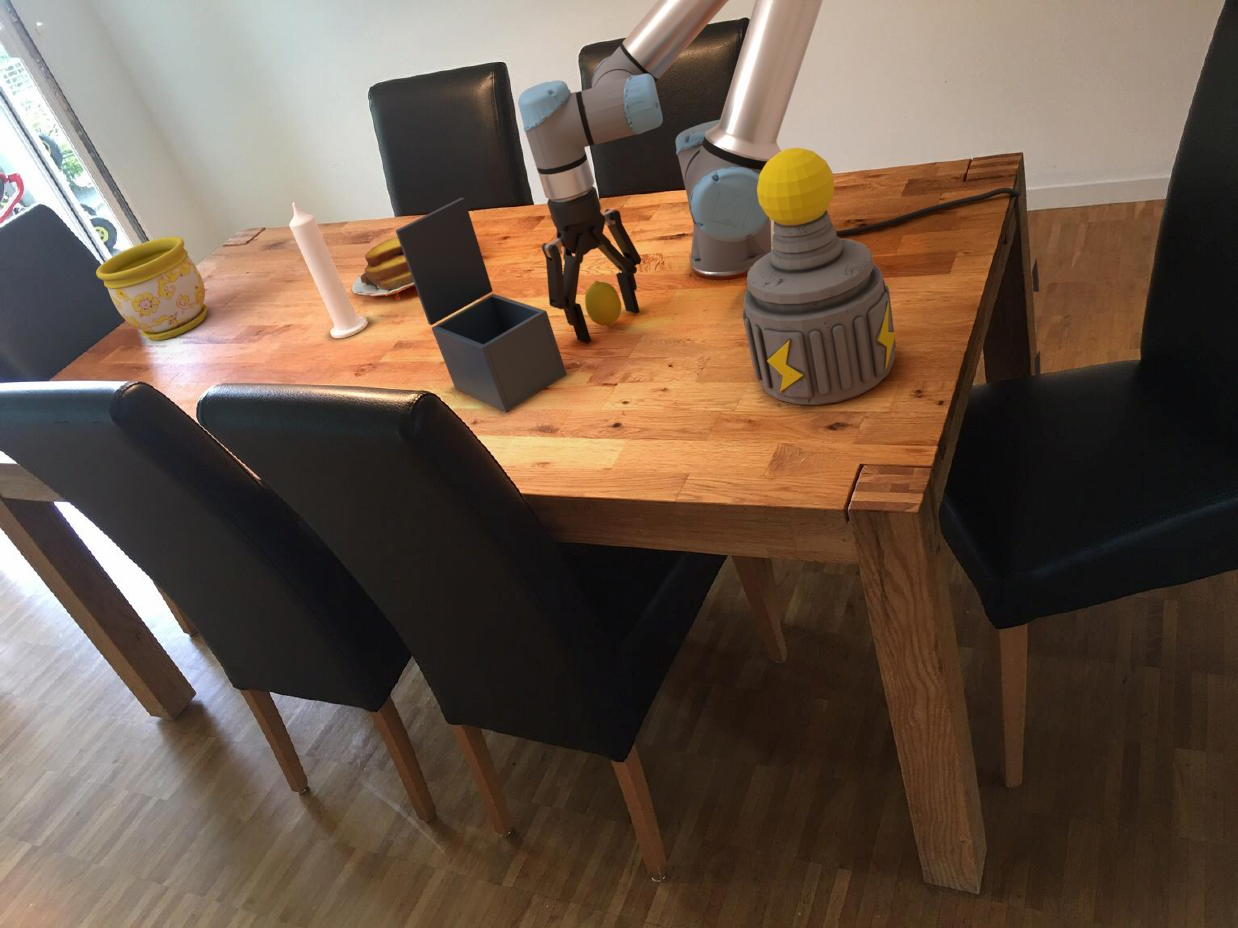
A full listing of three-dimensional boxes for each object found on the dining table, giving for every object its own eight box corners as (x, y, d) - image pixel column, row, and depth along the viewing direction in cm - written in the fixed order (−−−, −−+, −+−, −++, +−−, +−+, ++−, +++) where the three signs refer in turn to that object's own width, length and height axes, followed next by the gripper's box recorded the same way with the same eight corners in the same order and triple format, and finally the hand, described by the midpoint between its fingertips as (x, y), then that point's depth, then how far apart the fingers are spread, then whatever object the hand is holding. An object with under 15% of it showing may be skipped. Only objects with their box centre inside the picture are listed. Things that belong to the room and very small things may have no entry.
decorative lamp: (795, 330, 146) (757, 124, 130) (921, 341, 135) (898, 116, 119) (729, 400, 135) (680, 184, 119) (862, 418, 124) (827, 182, 108)
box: (567, 374, 153) (546, 310, 147) (505, 412, 148) (481, 348, 142) (514, 353, 164) (492, 293, 158) (455, 388, 159) (430, 327, 153)
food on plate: (413, 308, 191) (399, 277, 187) (330, 301, 206) (316, 272, 202) (498, 247, 206) (488, 217, 202) (416, 245, 221) (404, 216, 217)
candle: (374, 318, 192) (320, 192, 178) (355, 337, 186) (297, 208, 173) (344, 321, 195) (289, 196, 181) (324, 339, 189) (265, 213, 176)
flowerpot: (199, 300, 228) (163, 232, 219) (232, 312, 215) (195, 240, 206) (124, 338, 219) (83, 269, 210) (153, 354, 206) (112, 280, 198)
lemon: (592, 324, 166) (578, 279, 161) (625, 315, 165) (612, 270, 161) (593, 339, 161) (580, 293, 157) (627, 329, 160) (615, 284, 156)
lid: (464, 198, 148) (461, 197, 149) (397, 231, 143) (395, 230, 144) (493, 291, 158) (490, 290, 158) (431, 325, 153) (428, 324, 153)
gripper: (611, 161, 158) (645, 290, 170) (496, 220, 149) (541, 353, 161) (642, 165, 153) (674, 298, 165) (525, 227, 143) (569, 364, 155)
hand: (609, 325), depth 163 cm, fingers open, 10 cm apart
